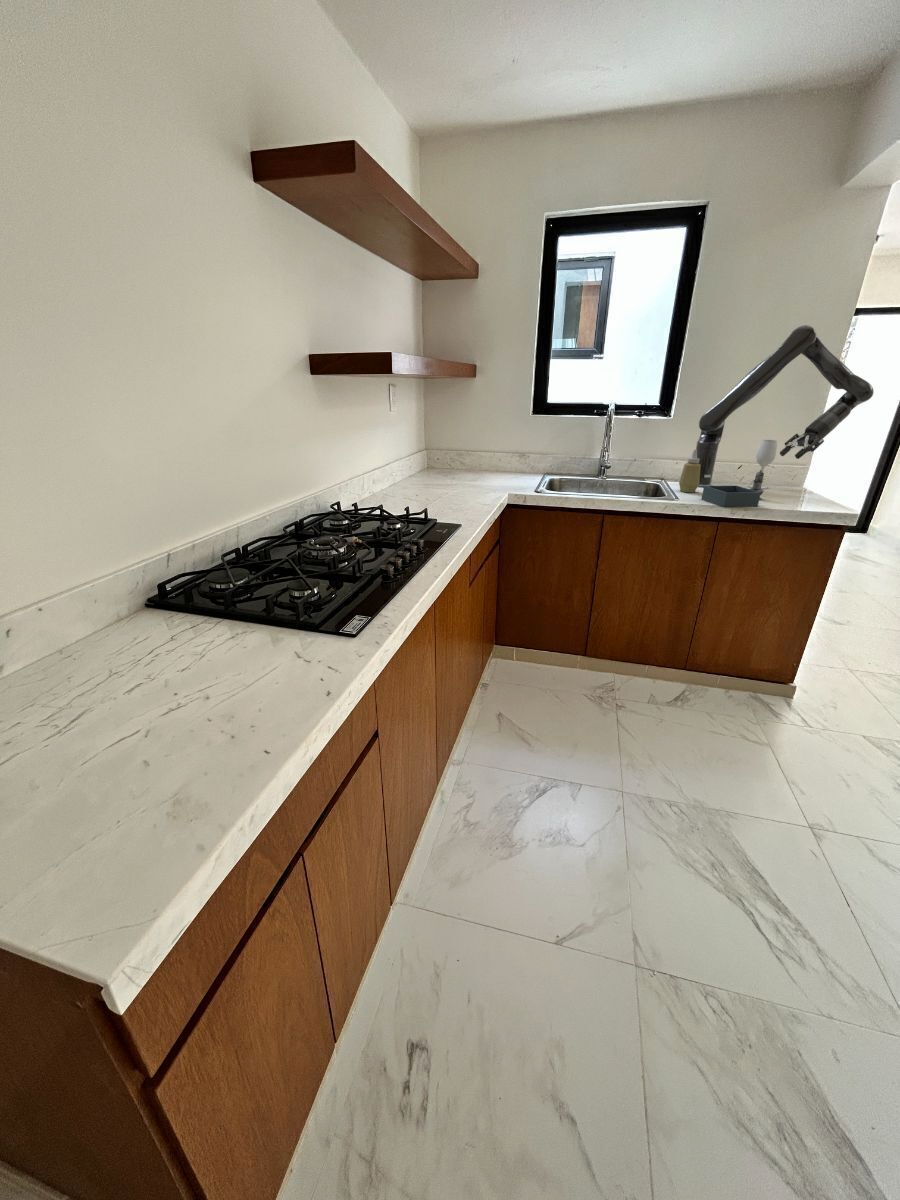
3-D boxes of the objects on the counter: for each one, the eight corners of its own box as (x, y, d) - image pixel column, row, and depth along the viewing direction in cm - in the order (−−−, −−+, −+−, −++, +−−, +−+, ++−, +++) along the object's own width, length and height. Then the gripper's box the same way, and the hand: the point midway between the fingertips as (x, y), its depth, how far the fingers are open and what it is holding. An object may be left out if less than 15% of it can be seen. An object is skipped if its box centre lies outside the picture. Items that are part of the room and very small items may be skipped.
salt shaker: (758, 497, 211) (765, 468, 207) (764, 500, 206) (772, 470, 201) (743, 497, 212) (750, 468, 207) (749, 499, 207) (756, 470, 202)
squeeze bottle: (677, 492, 221) (685, 450, 214) (677, 489, 228) (684, 448, 221) (697, 493, 218) (706, 451, 211) (696, 490, 225) (705, 449, 218)
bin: (701, 499, 207) (704, 485, 205) (733, 498, 209) (736, 485, 207) (723, 507, 193) (726, 492, 191) (757, 506, 195) (761, 492, 193)
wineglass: (767, 486, 235) (779, 440, 227) (767, 489, 229) (779, 441, 221) (749, 485, 239) (760, 439, 231) (748, 487, 233) (759, 440, 225)
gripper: (804, 418, 205) (771, 447, 209) (832, 420, 192) (797, 451, 196) (812, 431, 208) (780, 460, 211) (841, 434, 195) (805, 465, 198)
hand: (788, 456), depth 203 cm, fingers open, 8 cm apart
